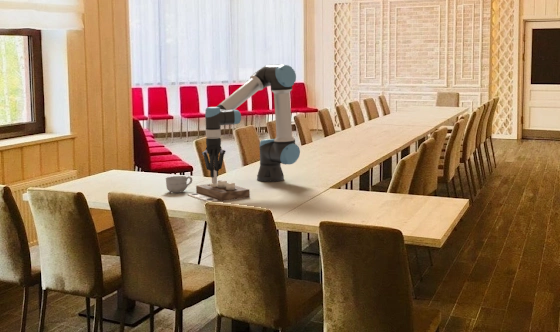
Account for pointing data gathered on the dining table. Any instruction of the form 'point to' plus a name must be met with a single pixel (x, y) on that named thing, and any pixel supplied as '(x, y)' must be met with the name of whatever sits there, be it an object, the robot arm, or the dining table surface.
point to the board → (222, 192)
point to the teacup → (177, 183)
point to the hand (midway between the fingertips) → (214, 183)
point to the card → (202, 197)
